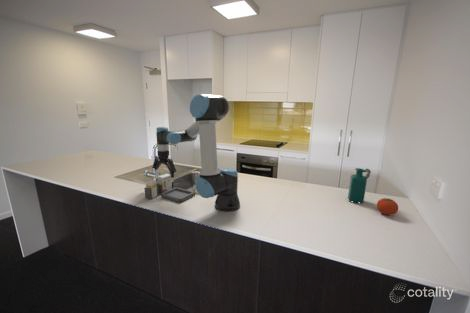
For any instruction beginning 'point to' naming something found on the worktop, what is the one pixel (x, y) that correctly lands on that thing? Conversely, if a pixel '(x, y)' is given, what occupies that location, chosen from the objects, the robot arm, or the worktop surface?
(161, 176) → the ink box
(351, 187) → the green bottle
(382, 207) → the tomato
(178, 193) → the tray
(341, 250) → the worktop surface
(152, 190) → the clip holder
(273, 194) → the worktop surface
